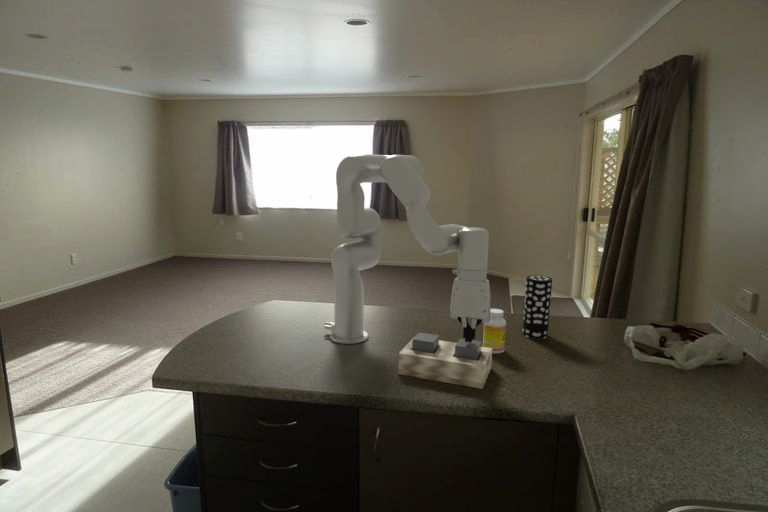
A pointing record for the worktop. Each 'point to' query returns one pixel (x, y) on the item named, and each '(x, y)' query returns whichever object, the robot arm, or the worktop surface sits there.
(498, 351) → the supplement bottle
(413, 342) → the cap
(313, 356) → the worktop surface
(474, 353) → the cap
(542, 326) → the white-spotted black cylinder
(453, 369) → the switch box
